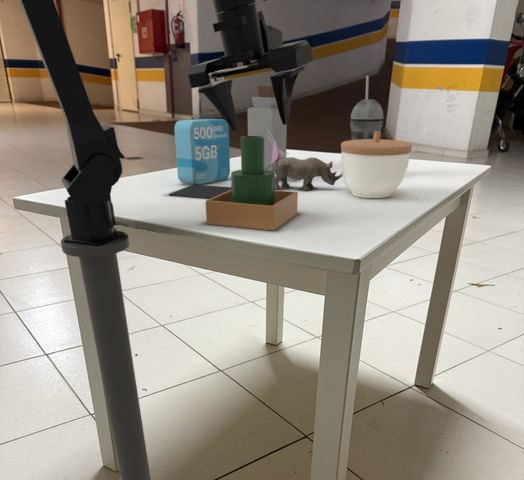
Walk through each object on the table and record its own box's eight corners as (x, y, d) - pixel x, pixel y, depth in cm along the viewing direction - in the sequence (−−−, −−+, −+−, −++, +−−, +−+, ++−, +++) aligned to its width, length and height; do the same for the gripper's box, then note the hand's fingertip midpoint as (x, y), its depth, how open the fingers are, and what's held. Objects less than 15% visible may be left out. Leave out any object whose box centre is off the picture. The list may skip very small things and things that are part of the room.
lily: (280, 191, 103) (303, 147, 100) (234, 164, 105) (256, 120, 102) (296, 198, 114) (317, 159, 111) (254, 173, 116) (274, 134, 113)
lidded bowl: (363, 185, 102) (368, 127, 97) (417, 194, 94) (427, 131, 89) (324, 194, 94) (327, 131, 89) (380, 205, 87) (387, 136, 81)
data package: (193, 185, 101) (189, 121, 96) (177, 183, 103) (173, 120, 98) (230, 178, 110) (229, 119, 104) (215, 176, 112) (212, 118, 107)
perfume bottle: (271, 171, 119) (272, 86, 110) (248, 168, 122) (247, 86, 113) (285, 167, 124) (287, 85, 115) (263, 165, 127) (262, 85, 118)
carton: (274, 230, 72) (274, 206, 71) (206, 224, 76) (205, 200, 74) (297, 213, 81) (297, 191, 79) (236, 208, 85) (235, 187, 83)
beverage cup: (384, 174, 114) (394, 75, 104) (366, 179, 109) (376, 75, 99) (357, 171, 118) (365, 75, 108) (339, 175, 113) (346, 75, 104)
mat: (216, 199, 91) (215, 197, 91) (168, 195, 94) (168, 193, 94) (238, 189, 99) (237, 187, 99) (193, 186, 103) (193, 184, 103)
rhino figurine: (341, 192, 97) (343, 159, 94) (271, 190, 99) (272, 158, 96) (341, 188, 100) (344, 156, 97) (274, 186, 102) (274, 155, 99)
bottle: (265, 225, 75) (265, 140, 69) (225, 221, 77) (222, 138, 71) (280, 215, 80) (281, 135, 74) (242, 212, 82) (240, 134, 76)
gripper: (320, -14, 69) (335, 106, 78) (214, 15, 79) (237, 119, 87) (284, -6, 62) (304, 126, 70) (171, 26, 71) (202, 138, 80)
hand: (260, 127), depth 77 cm, fingers open, 9 cm apart
